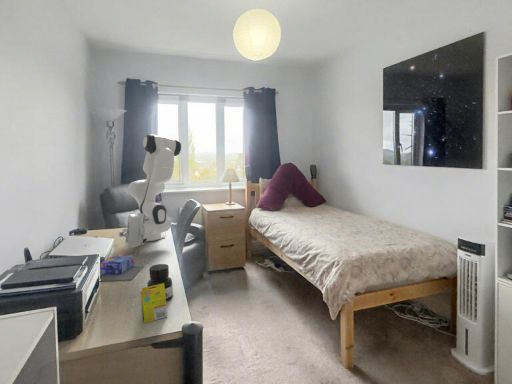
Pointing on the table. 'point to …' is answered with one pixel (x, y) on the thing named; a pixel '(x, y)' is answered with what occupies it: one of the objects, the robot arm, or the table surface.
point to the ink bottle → (161, 279)
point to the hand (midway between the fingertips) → (119, 233)
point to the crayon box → (153, 303)
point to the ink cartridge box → (117, 264)
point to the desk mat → (122, 275)
